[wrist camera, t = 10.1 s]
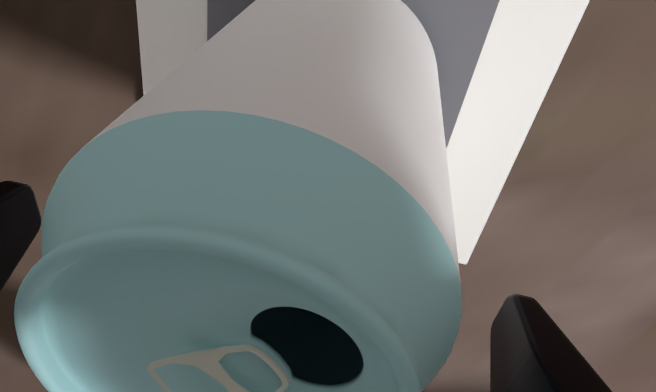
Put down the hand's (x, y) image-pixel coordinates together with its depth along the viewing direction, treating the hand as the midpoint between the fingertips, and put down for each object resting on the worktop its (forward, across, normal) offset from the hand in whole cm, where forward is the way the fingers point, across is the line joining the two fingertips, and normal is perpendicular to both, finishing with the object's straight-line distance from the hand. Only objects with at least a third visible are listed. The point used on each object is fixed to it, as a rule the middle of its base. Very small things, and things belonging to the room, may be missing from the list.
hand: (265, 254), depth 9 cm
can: (+9, 0, 0) cm, 9 cm away
